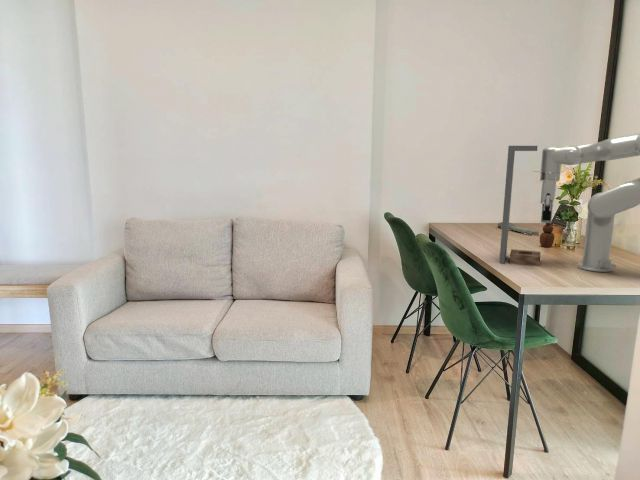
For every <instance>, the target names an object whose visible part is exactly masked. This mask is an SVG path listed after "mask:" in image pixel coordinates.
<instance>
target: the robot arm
mask: <svg viewBox="0 0 640 480" xmlns="http://www.w3.org/2000/svg"><path fill="white" fill-rule="evenodd" d="M633 157H640V133H636V134H635V133H634V134H629V135H625V136H624V135H623V136H618V137H612V138H608V139H603V140H602V141H599V142H594V143H590V144H584V145H578V146H566V147H555V146H554V147H553V146H552V147H544V148H543V149H542V154H541V165H540V166H541V167H540V176H539V177H540V178H539V181H542V183H541V190H540V191H541V193H540V204H543V203H544V211H543V217H542V220H546V221H550V220H551V221H552V219H551V204H553V205H554V200H555V197H556V189H557V188H556V187H557V181H561V171H562V170H561V168H562V167H561V166H562V165H565V166H575V165H580V164H587V163H593V162H599V161H614V160H619V159H629V158H633ZM589 198H590V199H589V200H588V202H587V207H586V208H587V217H586V224H585V225H586V226H585V235H584V244H583V251H582V252H583V253H582V262H578V264H577V267H578V268H579V269H581V270H584V271H589V272H598V273H607V272H608V273H609V272H612V271H613V270H614V268H617V267H616V264H614V263H612V260H611V259H610V257H611V246H612V238H613V231H614V224H615V215H616V214H620V213H622V212H625V211H628V210H630V209H632V208H635V207H637V206H639V205H640V177H638V178H636V179H632V180H628V181H626V182H624V183H622V184H620V185H617V186H616V187H612V188H610V189H608V190H606V191H602V192H597V193H595V194H594V195H592V196H591V197H589ZM545 203H546V204H545ZM549 208H550V209H549Z"/></svg>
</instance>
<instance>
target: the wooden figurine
mask: <svg viewBox="0 0 640 480" xmlns="http://www.w3.org/2000/svg"><path fill="white" fill-rule="evenodd" d="M551 223H552V222H551ZM551 223H545V225H543V227H542V232H541V234H540V235H539V244H540V246H541V247H543V248H551V247H552V246H553V245H554V242H555V234H554V233H553V231H554V226H553V225H551Z"/></svg>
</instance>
